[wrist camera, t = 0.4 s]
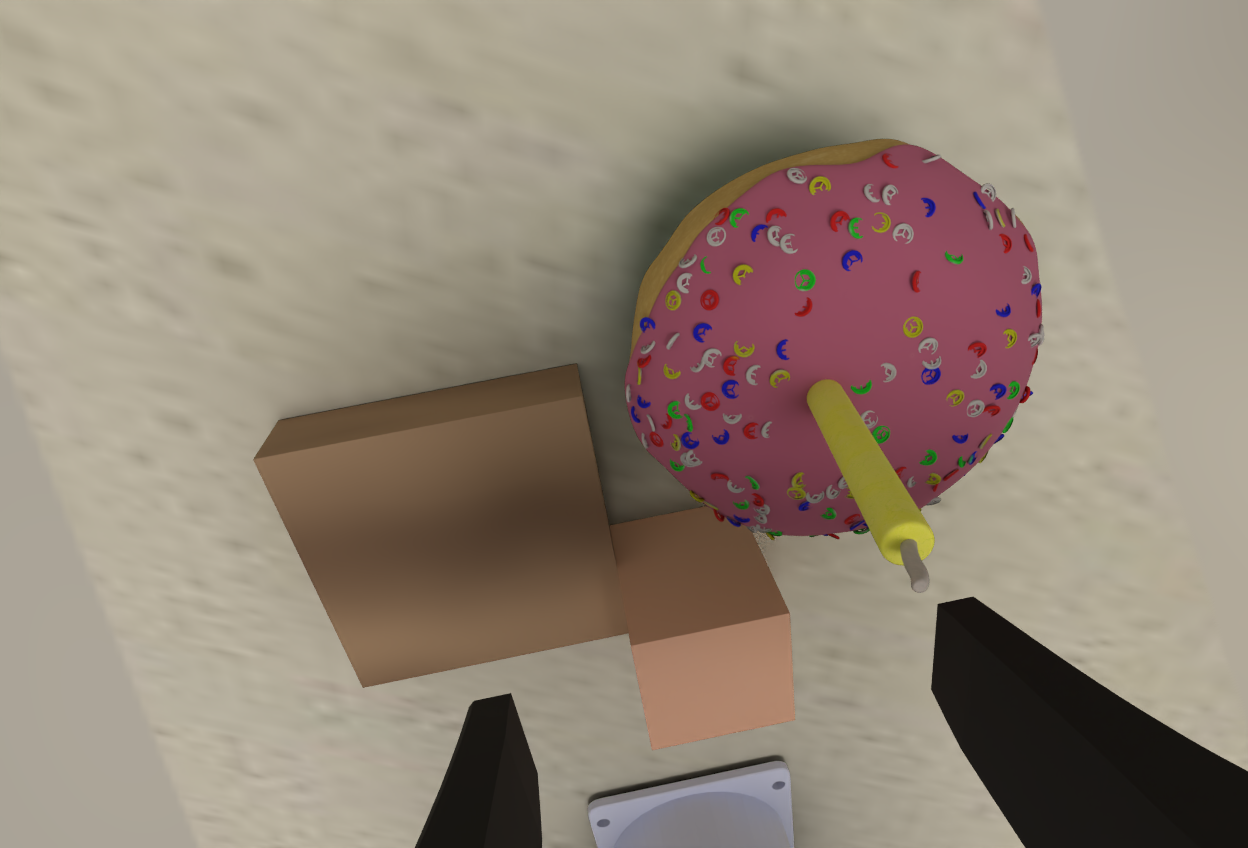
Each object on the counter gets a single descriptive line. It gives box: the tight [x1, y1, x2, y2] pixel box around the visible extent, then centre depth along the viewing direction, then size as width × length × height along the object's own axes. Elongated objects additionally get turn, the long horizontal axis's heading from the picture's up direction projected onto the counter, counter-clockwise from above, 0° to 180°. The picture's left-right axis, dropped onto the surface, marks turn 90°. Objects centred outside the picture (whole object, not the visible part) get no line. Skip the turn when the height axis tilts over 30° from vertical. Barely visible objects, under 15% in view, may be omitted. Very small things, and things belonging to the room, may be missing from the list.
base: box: [253, 364, 629, 688], centre depth 20 cm, size 8×8×2 cm
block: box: [610, 506, 795, 750], centre depth 21 cm, size 4×4×5 cm
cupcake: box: [625, 139, 1044, 593], centre depth 13 cm, size 9×8×12 cm
